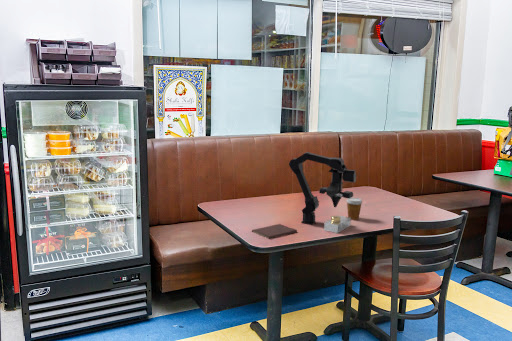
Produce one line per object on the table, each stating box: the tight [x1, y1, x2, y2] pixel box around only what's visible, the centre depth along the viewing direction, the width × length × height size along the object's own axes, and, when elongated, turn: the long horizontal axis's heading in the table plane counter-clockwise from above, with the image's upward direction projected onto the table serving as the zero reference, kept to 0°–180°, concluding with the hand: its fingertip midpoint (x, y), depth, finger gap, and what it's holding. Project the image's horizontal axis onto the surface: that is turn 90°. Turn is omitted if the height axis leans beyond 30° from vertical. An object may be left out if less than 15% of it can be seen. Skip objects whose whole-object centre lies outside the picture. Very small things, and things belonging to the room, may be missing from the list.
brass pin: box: [330, 215, 341, 223], centre depth 269 cm, size 5×5×6 cm
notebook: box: [251, 223, 298, 240], centre depth 263 cm, size 15×20×2 cm
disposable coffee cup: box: [345, 197, 363, 221], centre depth 290 cm, size 10×10×12 cm
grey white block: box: [323, 215, 352, 234], centre depth 272 cm, size 8×18×4 cm, turn 146°
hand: (335, 207), depth 273 cm, fingers closed
